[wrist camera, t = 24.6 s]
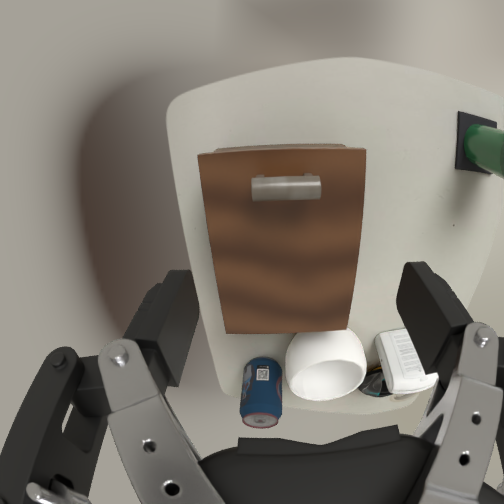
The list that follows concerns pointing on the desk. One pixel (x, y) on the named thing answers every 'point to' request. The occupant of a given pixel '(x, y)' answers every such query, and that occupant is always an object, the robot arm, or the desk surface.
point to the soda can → (261, 393)
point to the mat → (463, 124)
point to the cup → (325, 364)
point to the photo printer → (402, 363)
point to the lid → (284, 235)
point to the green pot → (485, 148)
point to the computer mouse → (375, 384)
